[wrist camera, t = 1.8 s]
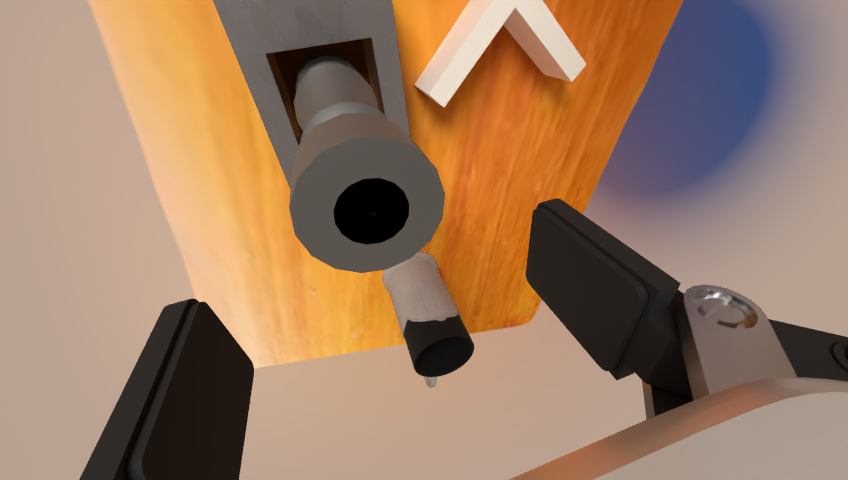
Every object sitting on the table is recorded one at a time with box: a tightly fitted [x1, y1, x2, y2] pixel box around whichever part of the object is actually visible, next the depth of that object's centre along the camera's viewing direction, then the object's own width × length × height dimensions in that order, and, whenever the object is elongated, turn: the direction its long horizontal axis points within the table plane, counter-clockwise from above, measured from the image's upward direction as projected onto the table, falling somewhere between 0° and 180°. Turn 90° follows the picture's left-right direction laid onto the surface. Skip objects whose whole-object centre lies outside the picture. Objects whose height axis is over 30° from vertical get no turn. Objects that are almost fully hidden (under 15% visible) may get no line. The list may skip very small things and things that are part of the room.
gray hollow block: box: [213, 0, 410, 189], centre depth 29 cm, size 16×12×6 cm
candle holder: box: [289, 51, 445, 273], centre depth 21 cm, size 6×6×25 cm
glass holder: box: [383, 252, 474, 388], centre depth 44 cm, size 9×14×15 cm, turn 175°
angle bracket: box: [415, 0, 586, 107], centre depth 31 cm, size 10×17×5 cm, turn 97°
